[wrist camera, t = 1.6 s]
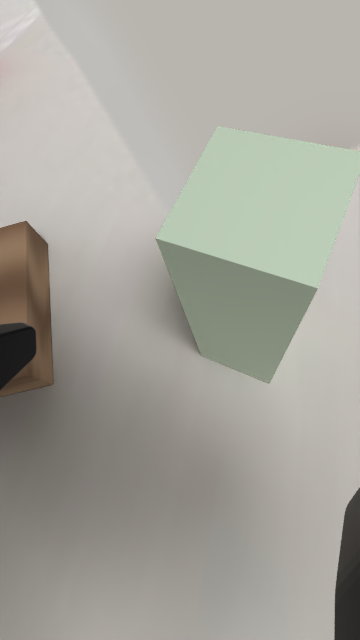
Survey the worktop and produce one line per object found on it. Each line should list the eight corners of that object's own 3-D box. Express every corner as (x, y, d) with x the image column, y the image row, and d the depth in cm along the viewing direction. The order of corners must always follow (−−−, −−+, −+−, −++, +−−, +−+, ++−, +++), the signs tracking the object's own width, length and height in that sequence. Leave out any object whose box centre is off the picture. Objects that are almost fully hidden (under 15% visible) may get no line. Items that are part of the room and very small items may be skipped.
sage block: (269, 383, 20) (317, 287, 8) (201, 355, 21) (155, 238, 9) (293, 319, 21) (367, 152, 9) (227, 296, 22) (217, 125, 10)
